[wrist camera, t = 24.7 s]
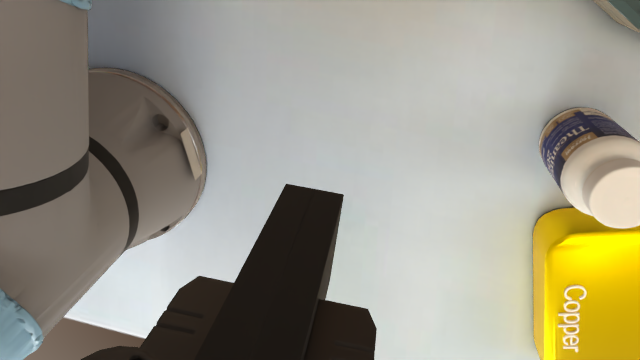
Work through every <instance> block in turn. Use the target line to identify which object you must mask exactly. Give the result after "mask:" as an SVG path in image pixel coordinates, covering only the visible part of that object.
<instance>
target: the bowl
mask: <svg viewBox="0 0 640 360" xmlns="http://www.w3.org/2000/svg"><path fill="white" fill-rule="evenodd" d="M593 1H594V2H595V3H596V4H597V5H598V6H599V7H601V8H602V9H603V10H604V11H605V12H606V13H607V14H608V15H609V16H610V17H611V18H613V19H614V20H615V21H616V22H617V23H619V24H621V25H624V26H626V27H628V28H630V29H632V30H634V31H637V32H639V33H640V0H593Z"/></svg>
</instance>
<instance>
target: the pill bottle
mask: <svg viewBox="0 0 640 360" xmlns="http://www.w3.org/2000/svg"><path fill="white" fill-rule="evenodd" d="M539 152H540V156H541V158H542V160H543V162H544V164H545V165H546V167H547V169H548V170H549V172H550V173H551V175H552V176H553V178H554V180H555V181H556V183H557V184H558V186H559V187H560V189H561V191H562V192H563V194H564V196H565V197H566V199H567V200H568V201H569V202H570V203H571V204H572V205H573V206H574V207H575V208H576V209H578V210H579V211H581V212H583V213H585V214H588V215H591V216H594V218H596V219H597V220H598V221H599V222H600V223H602V224H604V225H606V226H609V227H613V228H632V227H636V226H639V225H640V142H639V141H637V140H636V139H635V138H634V137H633V136H631V135H630V134H629V133H628V132H627V131H625V130H624V129H623V128H622V127H620V126H619V125H618V124H617V123H616V122H615V121H613V120H612V119H611V118H610V117H608V116H607V115H605V114H604V113H602V112H600V111H598V110H596V109H592V108H573V109H569V110H567V111H564V112H562V113H560V114H559V115H557V116H556V117H554V118H553V119H551V120H550V121H549V123H548V124H547V125H546V126H545V128H544V129H543V131H542V134H541V136H540V140H539Z"/></svg>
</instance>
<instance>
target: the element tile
mask: <svg viewBox="0 0 640 360" xmlns="http://www.w3.org/2000/svg"><path fill="white" fill-rule="evenodd" d="M533 305H534V341H535V345H536V348H537V351H538V354H539V357H540V360H640V225H639V226H636V227H632V228H613V227H609V226H606V225H604V224H602V223H600V222H599V221H598V220H597V219H596V218H594V216H591V215H588V214H585V213H583V212H581V211H579V210H578V209H576V208H575V207H574V208H561V209H556V210H553V211H550V212H548V213H546V214H544V215H543V216H542V217H541V218H540V219H538V221H537V223H536V225H535V227H534V232H533Z"/></svg>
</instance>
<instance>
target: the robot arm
mask: <svg viewBox="0 0 640 360" xmlns="http://www.w3.org/2000/svg"><path fill="white" fill-rule="evenodd" d="M91 4H92V1H91V0H0V360H23V359H24V358H25V357H26V356H28V355H29V354H30V353H32V352H34V351H35V350H37V349H38V347H39V346H40V345H41V344H42V343H43V341H42V340H43V338H44V337H45V336H46V335H47V334H48V333H49V332H50V330H51V329H52V328H53V327H54V326H55V325H56V324H57V323H58V322H59V321H60V320H61V319H62V318H63V317H64V316H65V314H66V313H67V312H68V311H69V310H70V309H71V308H72V307H73V306H74V305H75V304H76V303H77V302H78V301H79V299H80V298H81V297H82V296H83V295H84V294H85V293H86V292H87V291H88V290H89V289H90V288H91V287H92V286H93V284H94V283H95V282H96V281H97V280H98V279H99V278H100V277H101V276H102V275H103V274H104V273H105V272H106V271H107V269H108V268H109V267H110V266H111V265H112V264H113V263H114V262H115V261H116V260H117V259H118V258H119V257H120V256H121V254H122V253H123V252H124V251H125V250H127V249H129V248H132V247H134V246H137V245H139V244H141V243H143V242H145V241H147V240H150V239H153V238H156V237H158V236H160V235H163V234H165V233H166V232H168V231H170V230H171V229H172V228H174V227H175V226H177V225H178V224H179V223H180V222H182V221H183V220H184V219H185V218H186V216H187V215H188V214H189V213H190V212H191V210H192V209H193V208H194V207H195V205H196V204H197V202H198V200H199V199H200V196H201V194H202V192H203V189H204V185H205V180H206V171H207V170H206V156H205V151H204V146H203V143H202V140H201V137H200V135H199V133H198V130H197V128H196V126H195V124H194V123H193V121H192V119H191V118H190V116H189V115H188V113H187V112H186V111H185V109H184V108H183V107H182V106H181V105H180V103H179V102H178V101H177V100H176V99H175V98H174V97H173V96H172V95H170V94H169V93H168V92H167V91H166V90H164V89H163V88H162V87H160V86H159V85H157V84H156V83H154V82H153V81H151V80H149V79H147V78H145V77H143V76H141V75H138V74H136V73H133V72H130V71H126V70H122V69H116V68H93V69H89V70H88V22H87V11H88V10H91ZM343 196H344V195H343V194H338V193H333V192H327V191H322V190H316V189H311V188H306V187H300V186H295V185H289V184H286V185H285V187H284V189H283V191H282V193H281V195H280V197H279V198H278V200H277V202H276V204H275V206H274V208H273V210H272V212H271V214H270V216H269V218H268V219H267V221H266V223H265V225H264V227H263V229H262V231H261V233H260V235H259V237H258V239H257V240H256V242H255V244H254V246H253V248H252V250H251V252H250V254H249V256H248V258H247V260H246V261H245V263H244V265H243V267H242V269H241V271H240V273H239V275H238V277H237V279H236V281H235V283H231V282H226V281H221V280H217V279H212V278H207V277H202V276H198V277H197V278H195V279H194V280H192V281H191V282H189V283H188V284H186V285H185V286H183V287H182V288H180V289H179V290H178V292H177V293H176V295H175V296H174V298H173V299H172V301H171V302H170V304H169V305H168V307H167V310H166V311H164V313H163V314H162V316H161V317H160V318H159V320H158V321H157V325H156V326H154V327H153V329H152V330H151V332H150V333H149V335H148V336H147V338H146V339H145V341H144V342H143V344H142V345H141V347H140V348H138V347H124V346H117V347H113V348H108V349H103V350H99V351H97V352H95V353H93V354H91V355H89V356H87V357H85V358H83V359H81V360H374V351H375V341H376V326H375V324H374V322H373V320H372V317H371V315H370V313H369V311H368V309H366V308H361V307H356V306H351V305H346V304H341V303H336V302H332V301H327V300H325V298H326V294H327V290H328V285H329V281H330V275H331V269H332V263H333V257H334V251H335V245H336V239H337V233H338V226H339V220H340V214H341V208H342V202H343Z"/></svg>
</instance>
